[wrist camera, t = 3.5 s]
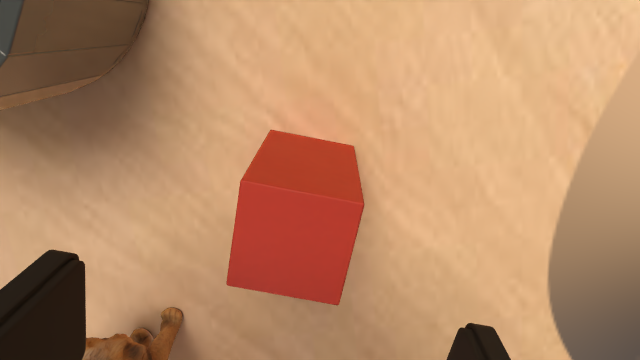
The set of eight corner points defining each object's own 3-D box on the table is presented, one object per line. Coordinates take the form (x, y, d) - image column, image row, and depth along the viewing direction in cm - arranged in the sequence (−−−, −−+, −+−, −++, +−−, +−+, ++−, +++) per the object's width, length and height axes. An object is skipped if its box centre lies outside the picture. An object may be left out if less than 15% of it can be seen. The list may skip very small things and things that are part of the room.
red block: (354, 145, 22) (364, 203, 15) (336, 220, 23) (338, 306, 16) (270, 129, 21) (240, 179, 14) (258, 206, 23) (225, 285, 16)
